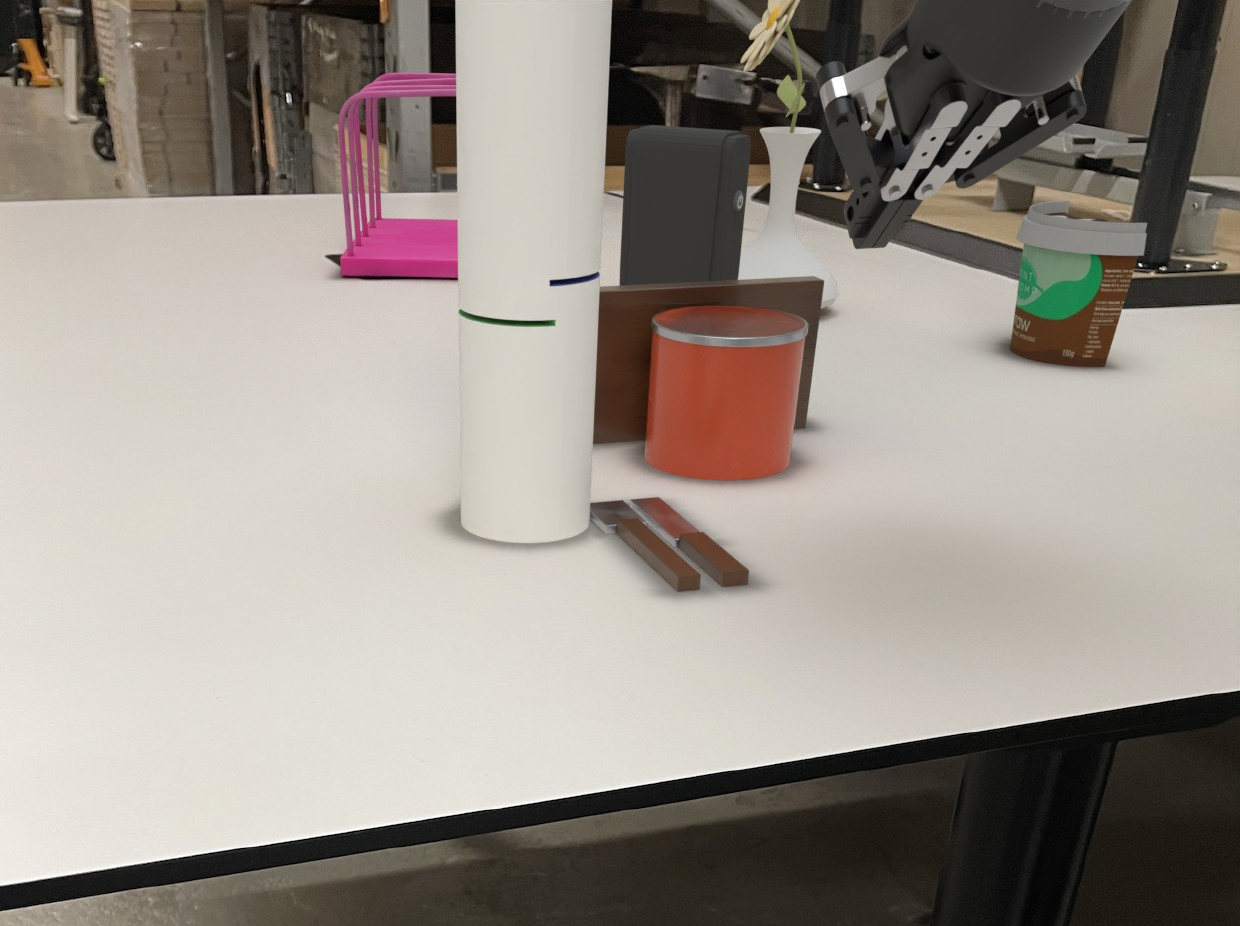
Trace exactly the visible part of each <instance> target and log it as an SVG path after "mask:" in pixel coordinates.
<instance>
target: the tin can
mask: <svg viewBox="0 0 1240 926" xmlns="http://www.w3.org/2000/svg"><path fill="white" fill-rule="evenodd" d="M651 328H652V330H653V332H652V347H651V363H650V379H649V395H648V410H647V426H646V440H645V442H644V459H645V462H647V464H649V466H651V467H653V468H655V469H657V470H659V471H661V472H664V473H667V474H671V475H674V476H679V477H683V478H690V479H695V480H707V481H725V482H726V481H728V482H729V481H730V482H731V481H748V480H757V479H764V478H767V477H772V476H774V475H777V474H779V473H780V474H781V473H782V472H783V471H785V470H786V469H788V467H789V466H790V464H791V455H792V449H793V447H792V446H793V440H794V431H795V429H794V424H795V416H796V408H797V400H798V391H799V383H800V375H801V367H802V359H803V351H804V343H805V336H806V335H807V332H808V323H807V321H806V320H804V319H803V318H801V317H799V316H796V315H793V314H790V313H787V312H782V311H778V310H772V309H766V308H758V307H748V306H730V305H706V306H690V307H681V308H675V309H670V310H666V311H663V312H660V313H658V314H656V315H654V316H653V318H652V321H651Z"/></svg>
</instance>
